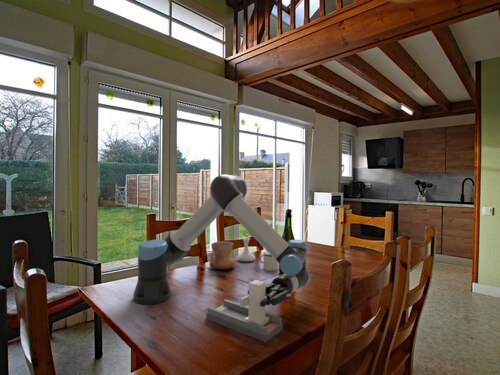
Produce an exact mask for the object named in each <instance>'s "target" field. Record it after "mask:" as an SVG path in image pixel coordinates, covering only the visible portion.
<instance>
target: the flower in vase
mask: <svg viewBox="0 0 500 375" xmlns="http://www.w3.org/2000/svg"><path fill="white" fill-rule="evenodd" d="M242 234H243V236H244V237H243V238H242V241H243V244H244V247H243V248H244V249H243V251H242V252H240V253H239V254H238V255H237V256H236V259H237V261H240V262H252V261H255V259H256V256H255V255H254V254H253V253H252V252H250V251H249V241H250V240H251V238H250V237H249V236H251V237H253V236H252V235H251V234H250V233H249V232H248V234H245V233H242Z"/></svg>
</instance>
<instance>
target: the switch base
mask: <svg viewBox="0 0 500 375" xmlns="http://www.w3.org/2000/svg"><path fill="white" fill-rule="evenodd" d="M206 311H207V312H206V314H205V316H206V317H205V319H206V320H209V321H212V322H214V323H216V324H219V325H221V326H224V327H225V328H228V329H231V330H234V331H236V332H239V333H242V334H243V335H246V336H247V337H250V336H251V338H253V337H254V339H255V338H257V339H256V340H258V339H259V340H258V341H260V340H261V342H263V341H264V342H263V343H265V342H267V341H268V340H269V341H271V340H272V339H273V338H275V337H276V336H277V335H278V333H279V332H280V331H281V332H282V331H284V324H283V323H282V320H283V319H282V317H280V316H277V315H274V314H271V313H267V312H265V316H267V317H269V322H268V323H266V324H265V325H263V326H261V325H258V324H255V323H253V322H250V321H247V320H245V318H246V317H248V314H249V306H248V305H246V306H244V307H240V303H238V302H235V301H231V300H229V299H227V298H226V299H224V300H223V304H222V305H219V306H218V307H215V308H214V307H212V306H208V307H207V310H206ZM281 332H280V333H281ZM280 333H279V334H280ZM276 334H277V335H276ZM275 335H276V336H275ZM274 336H275V337H274ZM272 337H273V338H272ZM271 338H272V339H271ZM270 339H271V340H270ZM269 341H268V342H269ZM268 342H267V343H268Z"/></svg>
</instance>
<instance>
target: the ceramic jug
mask: <svg viewBox="0 0 500 375" xmlns="http://www.w3.org/2000/svg"><path fill="white" fill-rule="evenodd" d="M210 245H211V250H212V251H211V253H210V261H209V266H210V268H213V269H214V270H219V271H220V270H221V271H225V270H229V269H232V268H233V267H234V266H235V264H236V261H235V259H234V258H233V257H231V253H232V252H233V248H234V247H233V246H234V243H233V242H231V241H215V242H212V243H211V244H210Z"/></svg>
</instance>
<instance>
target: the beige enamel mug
mask: <svg viewBox="0 0 500 375" xmlns="http://www.w3.org/2000/svg"><path fill="white" fill-rule="evenodd" d="M262 257H263V261H262ZM258 260H259V262H260V263H261V264H263V266H262V267H263V269H264V270H265V271H269V272H273V271H274V272H275V271H278V270H279V268H280V264H279V263H278V262H277V261H276V260H275V259H274V258H273V257H272V256H271V254H270V253H269V252H268V251H267V250H265V251H264V252H263V253H262V254H260V255H259V257H258Z"/></svg>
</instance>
